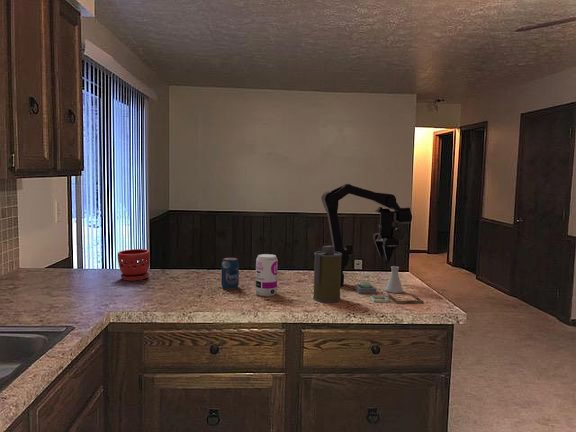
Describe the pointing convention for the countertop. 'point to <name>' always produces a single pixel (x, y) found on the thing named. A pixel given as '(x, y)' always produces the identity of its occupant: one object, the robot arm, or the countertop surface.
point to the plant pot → (134, 264)
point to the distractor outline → (379, 300)
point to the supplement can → (266, 274)
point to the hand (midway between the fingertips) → (384, 259)
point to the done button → (365, 284)
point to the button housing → (365, 289)
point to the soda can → (230, 273)
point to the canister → (327, 275)
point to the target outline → (407, 300)
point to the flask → (394, 282)
